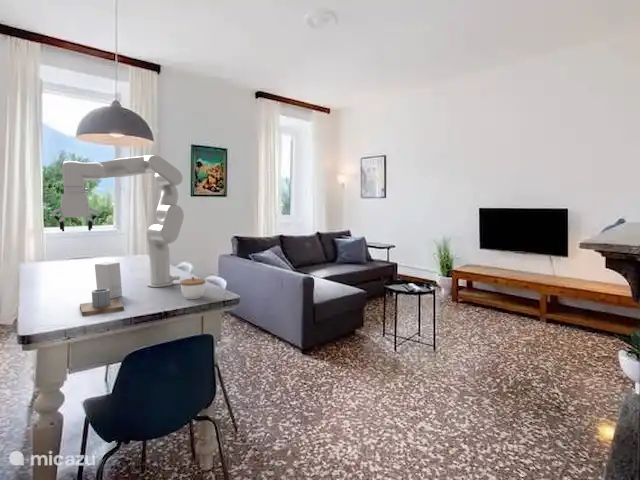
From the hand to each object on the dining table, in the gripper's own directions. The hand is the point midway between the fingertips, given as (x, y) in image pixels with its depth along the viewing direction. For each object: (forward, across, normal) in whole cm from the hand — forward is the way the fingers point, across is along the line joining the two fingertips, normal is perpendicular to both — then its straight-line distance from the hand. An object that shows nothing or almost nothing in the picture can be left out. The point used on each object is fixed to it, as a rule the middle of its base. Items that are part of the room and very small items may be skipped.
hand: (76, 230), depth 163 cm
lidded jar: (+31, -42, +24) cm, 57 cm away
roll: (+29, -6, +22) cm, 37 cm away
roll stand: (+30, -6, +22) cm, 38 cm away
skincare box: (+31, -11, +2) cm, 32 cm away
